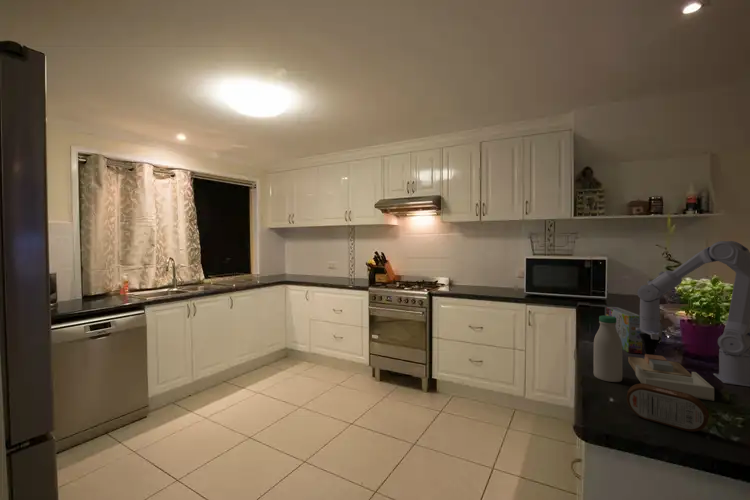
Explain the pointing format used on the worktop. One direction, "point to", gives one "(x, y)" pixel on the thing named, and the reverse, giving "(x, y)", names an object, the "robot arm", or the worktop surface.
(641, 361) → the board
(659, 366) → the slate tile
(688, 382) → the tray
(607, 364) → the milk bottle
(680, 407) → the tin
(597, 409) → the worktop surface
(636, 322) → the snack box
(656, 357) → the terracotta tile
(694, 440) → the worktop surface
